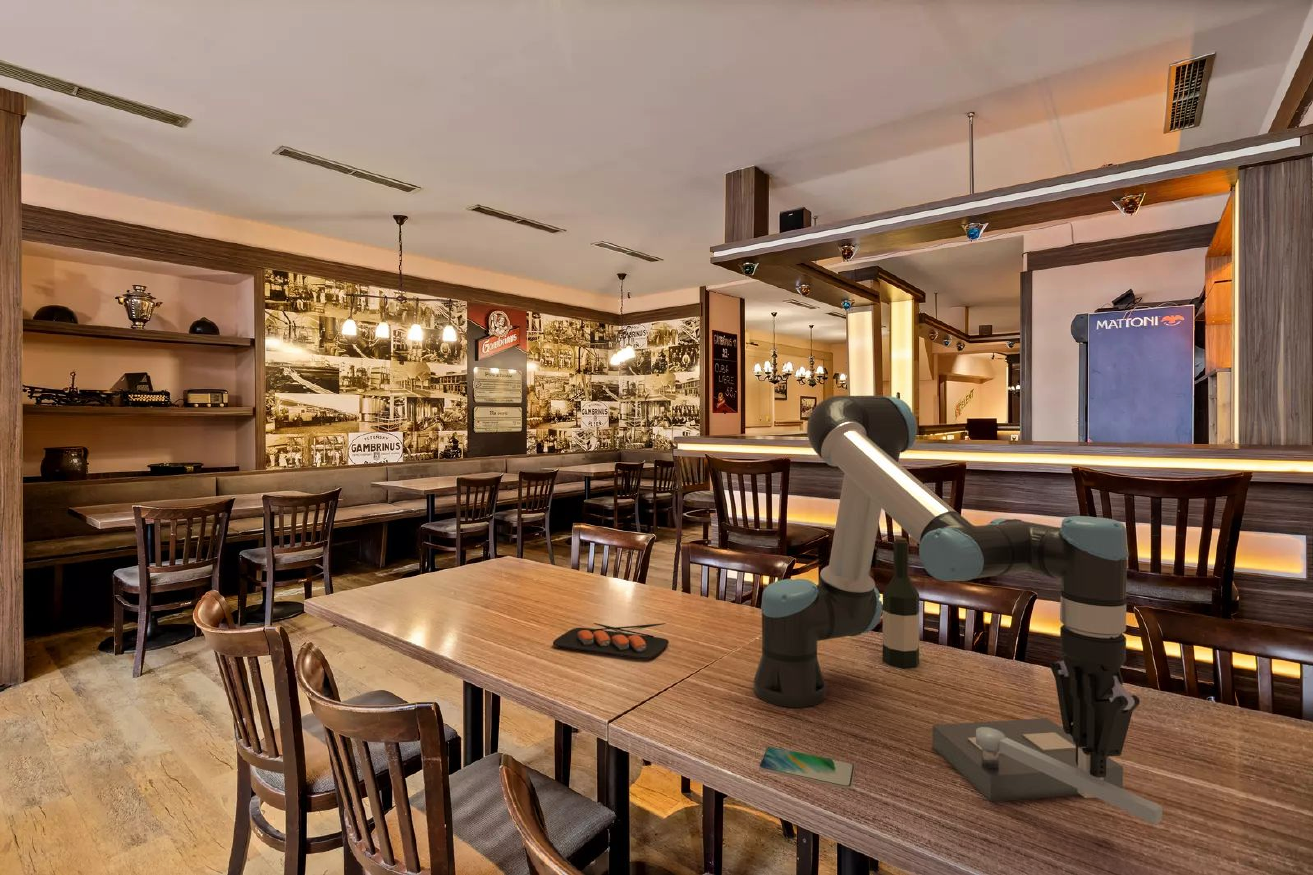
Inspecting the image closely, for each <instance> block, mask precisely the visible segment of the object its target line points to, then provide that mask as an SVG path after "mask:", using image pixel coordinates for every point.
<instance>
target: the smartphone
mask: <svg viewBox="0 0 1313 875" xmlns="http://www.w3.org/2000/svg"><path fill="white" fill-rule="evenodd" d="M758 769H759V770H760V771H763V772H765V773H766V772H767V773H771V774H777V775H779V776H785V777H790V778H795V779H800V780H804V781H809V782H813V783H817V784H823V785H827V786H832V787H837V788H841V789H845V790H850V789H852V787H853V782H854V776H855V770H856V766H855V764H854V763H851V762H849V761H842V760H837V759H832V758H829V757H823V756H818V755H814V754H809V753H803V752H800V751H794V750H789V749H783V748H780V747H776V746H775V747H774V746H767V747H766V748H765V751H764V753H763V755H762V758H761V761H760V762H759V765H758Z"/></svg>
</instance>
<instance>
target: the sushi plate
mask: <svg viewBox="0 0 1313 875" xmlns="http://www.w3.org/2000/svg"><path fill="white" fill-rule="evenodd" d="M666 624H667V623H666V622H664V623H652V624H641V625H640V624H638V625H631V626H617V627H616V626H615V627H614V626H610V625H605V624H602V623H601V624H600V623H598V622H597V623H595V622H593V625H597V626H600V627H602V628H589V627H574V628H572V629H570V630H568V631H567V632H565V633H563V634H561V635H559V637H557V638H555V639H554V640H553V642H552V644H553V645H554V646H556V647H560V648H564V649H565V648H566V649H572V650H578V651H585V652H586V651H587V652H594V653H599V654H606V655H613V656H618V657H619V656H620V657H626V658H627V657H628V658H633V659H643V660H645V659H647V660H648V659H649V660H650V659H652V658H654V657H655V658H656V656H658V655H659V654H660V653H661V652H662V651H664V649H665V648H666V647H667V646H668V645H669V643H670V640H669V639H667V638H663V637H659V636H658V637H657V636H654V635H652V634H648V633H643V632H637V631H632V630H628V629H636V628H650V627H655V626H656V627H657V626H661V625H666ZM613 630H614V631H613ZM618 631H619V632H618Z"/></svg>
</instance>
